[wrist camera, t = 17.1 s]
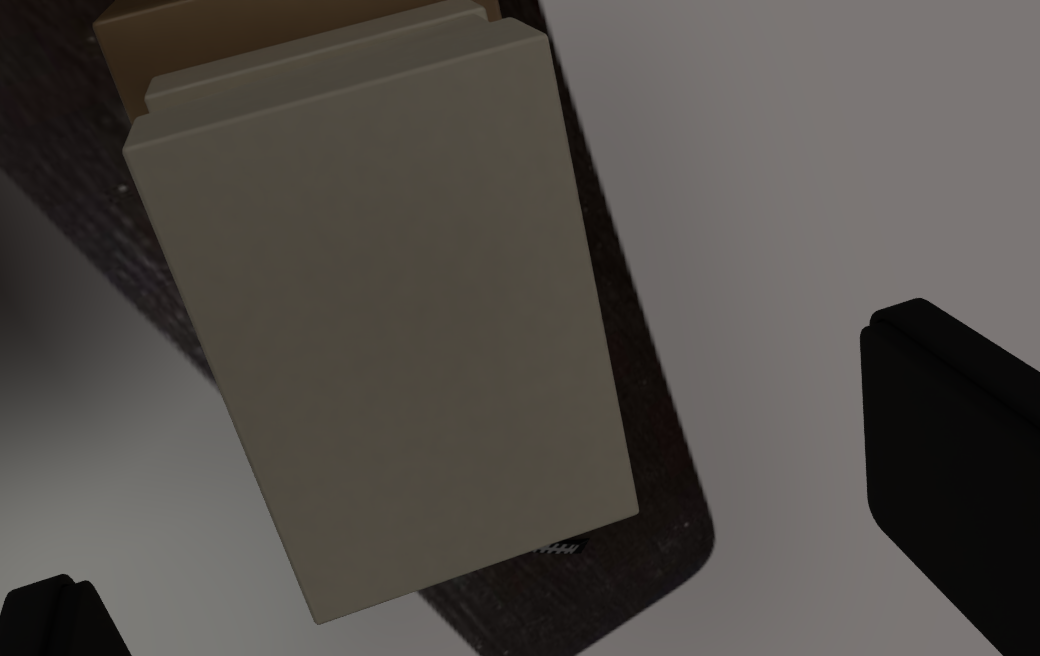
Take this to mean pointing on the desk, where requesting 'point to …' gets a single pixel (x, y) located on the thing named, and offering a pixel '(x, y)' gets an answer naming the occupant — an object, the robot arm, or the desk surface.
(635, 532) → the desk surface
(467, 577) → the desk surface
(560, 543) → the knife
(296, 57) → the cream books
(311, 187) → the cream book
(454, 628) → the desk surface
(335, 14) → the book stand
